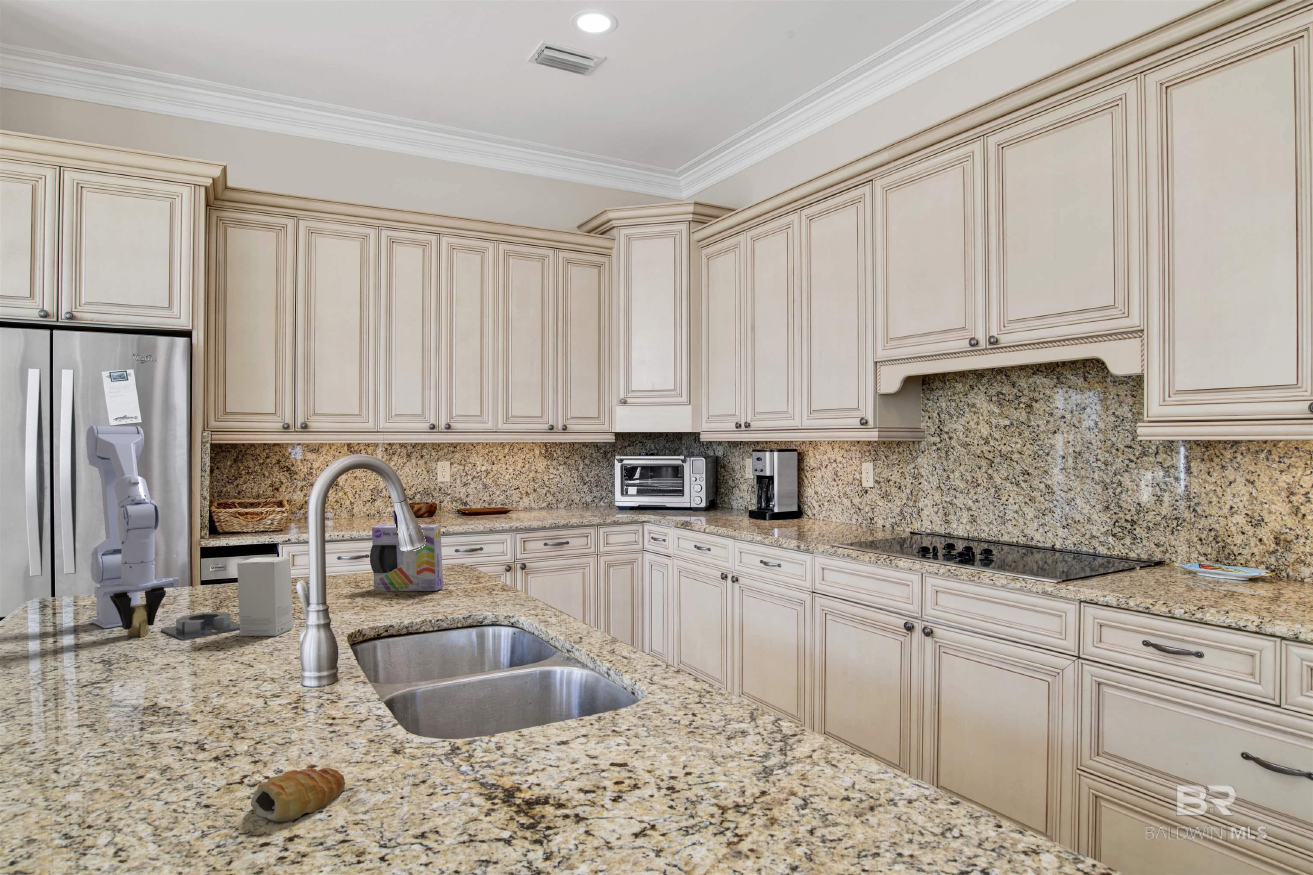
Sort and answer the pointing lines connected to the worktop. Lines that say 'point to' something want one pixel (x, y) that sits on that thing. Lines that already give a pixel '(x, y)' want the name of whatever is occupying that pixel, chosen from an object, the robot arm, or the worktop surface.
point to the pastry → (296, 793)
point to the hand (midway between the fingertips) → (138, 626)
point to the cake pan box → (406, 561)
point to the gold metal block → (139, 620)
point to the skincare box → (265, 596)
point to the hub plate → (208, 631)
